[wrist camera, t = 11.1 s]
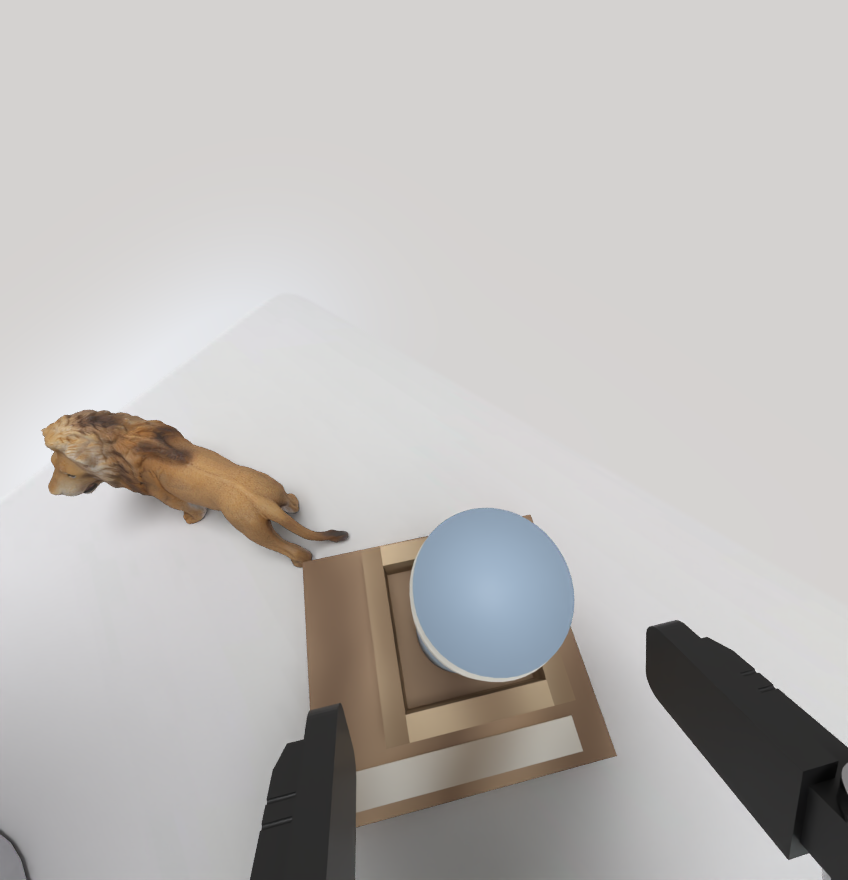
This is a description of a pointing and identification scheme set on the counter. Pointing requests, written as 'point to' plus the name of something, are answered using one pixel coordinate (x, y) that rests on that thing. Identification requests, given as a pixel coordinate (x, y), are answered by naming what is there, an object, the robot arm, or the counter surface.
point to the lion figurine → (172, 476)
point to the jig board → (433, 695)
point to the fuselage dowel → (490, 596)
